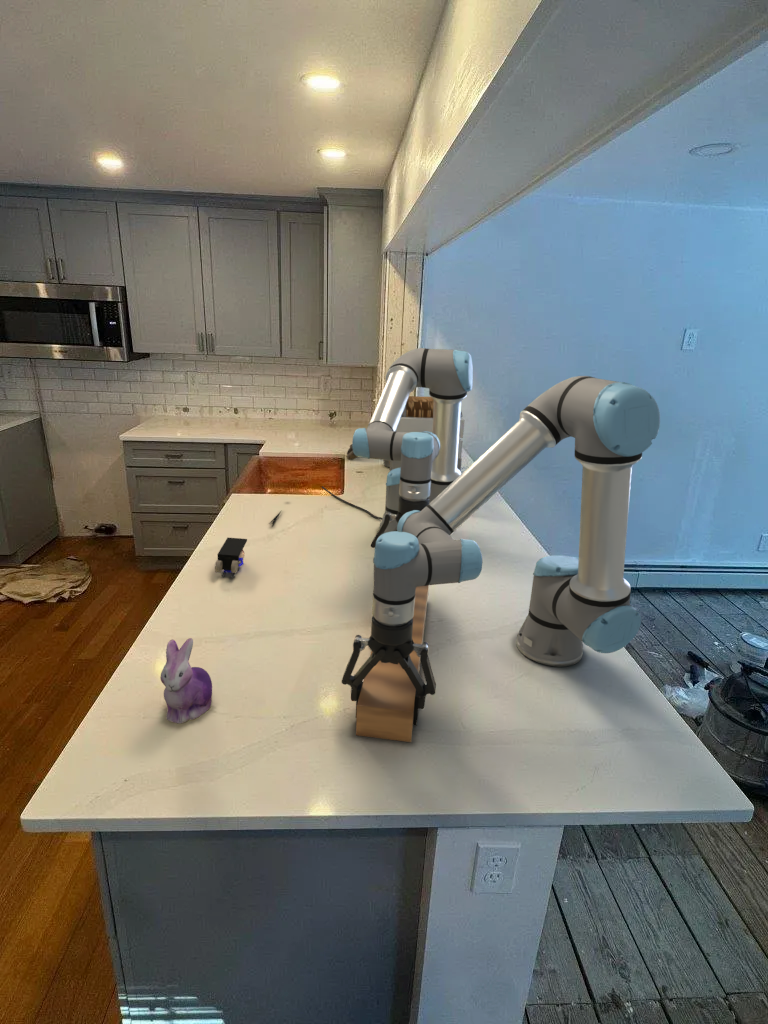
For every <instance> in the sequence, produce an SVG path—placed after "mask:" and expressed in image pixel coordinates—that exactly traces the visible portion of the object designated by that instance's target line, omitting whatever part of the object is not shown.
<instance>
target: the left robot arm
mask: <svg viewBox="0 0 768 1024" xmlns="http://www.w3.org/2000/svg"><path fill="white" fill-rule="evenodd" d="M473 368H474V367H473V359H472V355H471V354H470V353H469V352H468V351H466V350H457V349H447V348H446V349H444V348H426V347H418V348H414V349H411V350H409V351H407V352H405V353H403V354H401V355H400V356H399V357H398V358H396V359H395V360H394V361H393V362H392V363H391V364H390V366H389V368H388V370H387V372H386V374H385V385H384V387H383V390H382V392H381V395H380V397H379V399H378V401H377V404H376V406H375V409H374V411H373V413H372V415H371V418H370V420H369V422H368V425H367V427H359V428H357V429H355V431H354V433H353V436H352V441H351V442H352V443H351V444H352V448H353V453H354V454H355V455H356V456H358V457H359V458H363V459H368V460H381V461H384V460H392V461H400V462H401V468H396V469H393V470H391V471H390V470H389V472H388V473H387V475H386V482H385V504H384V505H385V507H384V508H385V509H384V513H383V515H382V517H380V516H377V515H374V514H373V513H371V511H369V510H367V509H365V508H363V507H360V506H358V505H355V504H353V503H351V502H349V501H346V500H345V499H343V498H340V496H337V495H335V494H334V493H332V492H331V491H329V490H328V489H327V488H326V487H324V486H323V485H322V486H321V488H322V489H323V490H324V491H325V492H327V493H328V494H330V495H331V496H332V497H334V498H336V499H337V500H339V501H341V502H343V503H345V504H347V505H349V506H352V507H354V508H356V509H359V510H361V511H363V512H365V513H367V514H368V515H369V516H371V517H373V518H375V519H377V520H381V522H379V527H378V531H376V533H375V535H374V537H373V539H372V541H371V542H370V547H371V549H375V546H376V541H377V539H378V537H379V536H380V535H382V534H384V533H387V532H392V531H397V525H398V522H399V520H400V518H401V517H402V516H403V515H404V514H405V513H407V512H410V511H413V510H419V511H422V510H423V509H424V508H425V507H426V506H427V505H428V504H429V503H431V502H432V501H433V500H434V499H435V498H436V497H437V496H438V495H439V494H440V493H441V492H442V491H443V490H445V489H446V488H447V487H448V486H449V485H450V484H451V483H452V482H453V481H454V480H455V479H456V478H458V477H459V476H460V475H461V474H462V471H461V472H460V470H459V469H458V468H457V459H458V444H459V430H460V415H461V412H462V401H463V400H464V399H465V398H467V396H468V392H471V391H472V390H473V384H474V379H473V378H474V369H473ZM416 388H422V389H429V390H428V391H429V392H428V395H429V397H432V398H433V399H434V408H433V432H429V431H424V432H410V433H406V432H396V429H397V427H398V424H399V421H400V419H401V416H402V413H403V411H404V408H405V405H406V403H407V400H408V397H409V396H411V393H413V392H414V391H415V390H416ZM358 457H357V458H358Z"/></svg>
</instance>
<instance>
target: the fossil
mask: <svg viewBox="0 0 768 1024" xmlns="http://www.w3.org/2000/svg"><path fill="white" fill-rule="evenodd" d="M346 452H347V453H346V458H347V460H350V461H352V460H354V459H356V458H358V456H356V455H355V454H354V453H353V448H352V443H351V444H350V445H349V448H348V449H347V451H346Z"/></svg>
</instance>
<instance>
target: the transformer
mask: <svg viewBox="0 0 768 1024" xmlns="http://www.w3.org/2000/svg"><path fill="white" fill-rule="evenodd" d="M433 408H434V399H433V398H432V397H431V396H415V395H414V396H413V395H412V396H411V395H409V397H408V400H407V403H406V405H405V408H404V411H403V413H402V416H401V419H400V421H399V424H398V427H397V429H396V432H406V433H410V432H424V431H429V432H433ZM464 429H465V419H464V418H463V411H461V415H460V430H459V444H458V459H457V468H458V469H459V470H460V472H461V473H462V461H463V460H462V453H463V442H464V441H463V440H462V439H463V438H464V431H465V430H464ZM383 466H384V467H388V468H389V472H390V471H391V470H393V469H396V468H401V462H400V461H392V460H383Z"/></svg>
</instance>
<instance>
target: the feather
mask: <svg viewBox="0 0 768 1024" xmlns="http://www.w3.org/2000/svg"><path fill="white" fill-rule="evenodd" d="M281 512H282V510H280V512H279V513H277V514H276V516H275V517H273V519H272V520H271V521H270V522H268V524H272V525H271V527H274V525H275V523H276V521H277V520H278V518H279V516H280V514H281Z"/></svg>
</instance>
